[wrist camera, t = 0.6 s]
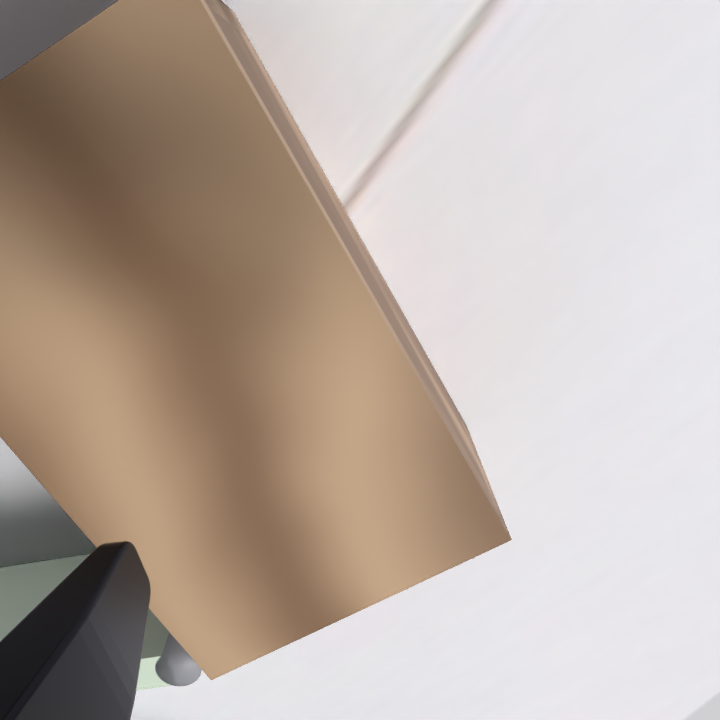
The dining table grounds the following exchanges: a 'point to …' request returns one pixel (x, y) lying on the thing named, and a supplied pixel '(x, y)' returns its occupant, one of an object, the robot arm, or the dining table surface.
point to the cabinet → (215, 342)
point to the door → (36, 580)
